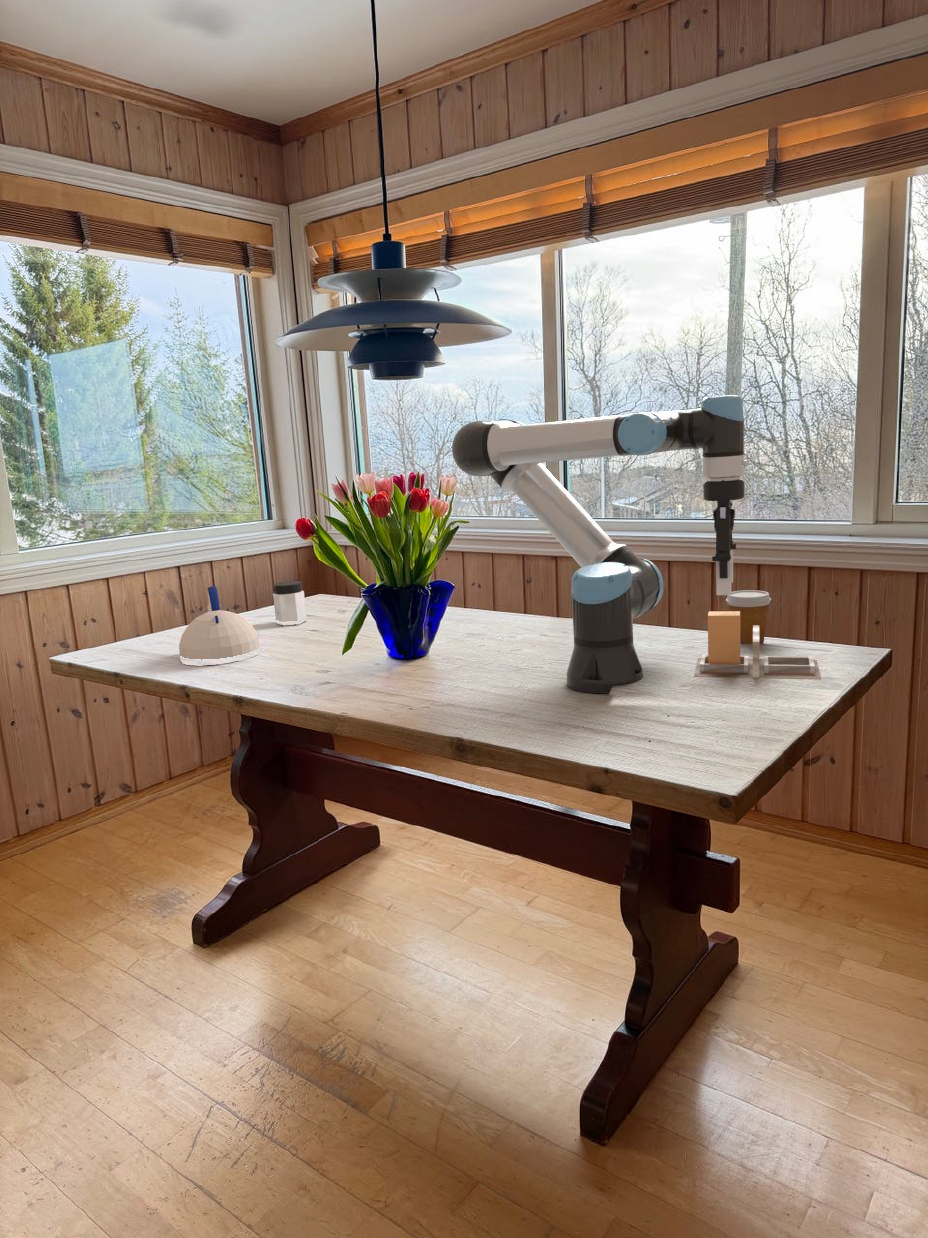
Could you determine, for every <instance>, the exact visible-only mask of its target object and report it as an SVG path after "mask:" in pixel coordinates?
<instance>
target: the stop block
mask: <svg viewBox="0 0 928 1238" xmlns="http://www.w3.org/2000/svg"><path fill="white" fill-rule="evenodd" d="M707 655H708V663H711V664H740V656H741V644H740V611H729V610H728V611H721V610H720V611H719V610H718V611H708V613H707Z"/></svg>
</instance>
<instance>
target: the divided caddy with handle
mask: <svg viewBox="0 0 928 1238" xmlns="http://www.w3.org/2000/svg"><path fill="white" fill-rule="evenodd" d="M817 660H818V659H814V657H813V656H799V655H798V656H794V655H793V656H788V655H785V656H784V655H779V656H777V655H775V656H774V655H772V656H771V655H770V656H769V655H763V658H760V644H759V625H753V644H752V658H750V657H749V655H740V664H711V663H708V654H707V655H706V654H705V655H704V654H703V655H702V654H701V657H698V658H697V661H696V665H695V669H694V673H693V677H694V678H736V679H737V678H738V679H739V678H743V679H785V680H786V679H790V680H793V679H795V680H822V676H821V672H820V669H819V665H818V661H817Z"/></svg>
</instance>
